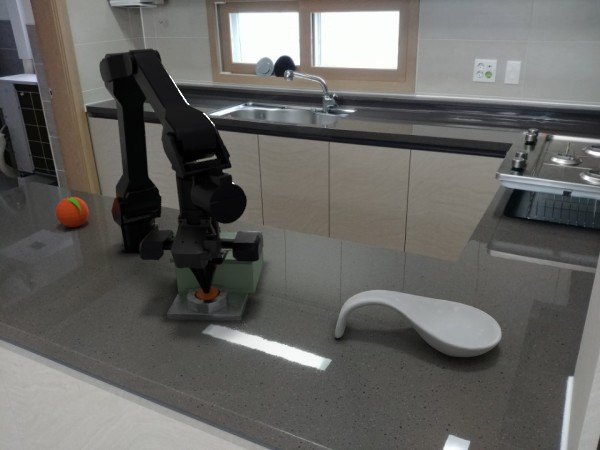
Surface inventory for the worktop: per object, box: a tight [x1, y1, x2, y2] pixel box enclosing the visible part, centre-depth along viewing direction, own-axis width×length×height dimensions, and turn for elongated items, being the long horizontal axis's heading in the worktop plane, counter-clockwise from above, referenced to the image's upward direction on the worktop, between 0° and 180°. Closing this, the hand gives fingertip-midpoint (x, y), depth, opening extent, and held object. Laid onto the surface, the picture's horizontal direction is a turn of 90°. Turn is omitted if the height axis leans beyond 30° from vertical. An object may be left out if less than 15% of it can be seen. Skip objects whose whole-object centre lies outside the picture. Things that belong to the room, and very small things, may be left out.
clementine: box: [55, 196, 90, 228], centre depth 122 cm, size 8×7×7 cm
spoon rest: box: [334, 289, 503, 358], centre depth 78 cm, size 24×12×7 cm, turn 78°
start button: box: [196, 287, 219, 300], centre depth 88 cm, size 4×4×2 cm
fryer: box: [174, 248, 264, 294], centre depth 98 cm, size 14×12×6 cm
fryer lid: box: [169, 231, 263, 264], centre depth 97 cm, size 14×12×1 cm
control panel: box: [166, 284, 249, 322], centre depth 89 cm, size 12×7×3 cm, turn 85°
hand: (207, 292), depth 88 cm, fingers closed, pressing on start button
